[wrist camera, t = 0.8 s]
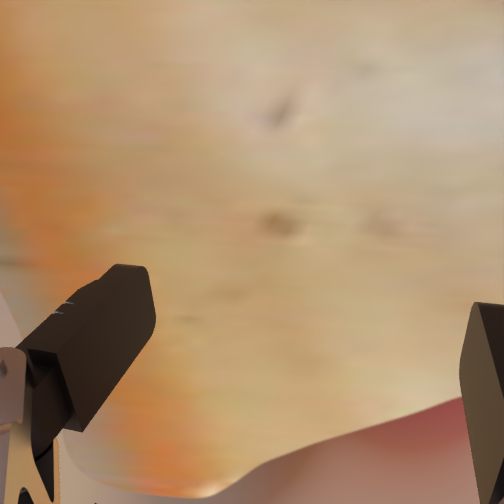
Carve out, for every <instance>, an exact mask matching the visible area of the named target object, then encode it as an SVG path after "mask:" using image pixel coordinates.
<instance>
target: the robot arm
mask: <svg viewBox="0 0 504 504" xmlns="http://www.w3.org/2000/svg"><path fill="white" fill-rule="evenodd" d="M155 323H156V313H155V308H154V302H153V297H152V291H151V286H150V280H149V275H148V272H147V270H146V268H145V267H143V266H135V265H125V264H115V265H113V266H112V267H111V268H110V269H109V270H108V271H107V272H106V273H105V274H104V275H103V276H102V277H101V278H100V279H99V280H95V281H93V282H91V283H89V284H87V285H86V286H84V287H82V288H80V289H78V290H77V291H76V292H75V293H74V294H73V295H72V296H71V297H70V298H68V299H67V300H66V301H65V304H62V305H61V306H60V307H59V308H58V309H57V310H55V313H54V314H51V315H50V316H49V317H48V318H47V319H46V320H45V321H44V322H42V323H41V324H40V325H39V326H38V327H37V328H36V329H35V330H34V331H33V332H32V333H31V334H29V335H28V336H27V337H26V338H25V339H24V340H23V341H22V342H21V343H20V344H19V345H18V346H16V347H15V348H12V347H3V348H0V504H60V478H59V477H60V474H59V445H58V441H57V439H56V436H57V435H58V434H59V432H60V431H61V430H62V428H64V429H69V430H74V431H78V432H83V431H84V429H85V428H86V427H87V425H88V424H89V422H90V421H91V420H92V418H93V417H94V415H95V414H96V413H97V411H98V410H99V409H100V407H101V406H102V404H103V403H104V402H105V400H106V399H107V397H108V396H109V395H110V393H111V392H112V390H113V389H114V388H115V386H116V385H117V383H118V382H119V381H120V379H121V378H122V376H123V375H124V374H125V372H126V371H127V369H128V368H129V367H130V365H131V364H132V363H133V361H134V360H135V358H136V357H137V356H138V354H139V353H140V351H141V350H142V349H143V347H144V346H145V344H146V343H147V342H148V340H149V339H150V337H151V336H152V334H153V331H154V328H155ZM459 379H460V387H461V393H462V399H463V405H464V411H465V416H466V422H467V428H468V434H469V440H470V446H471V452H472V458H473V464H474V470H475V476H476V481H477V487H478V493H479V499H480V504H504V305H501V304H491V303H481V302H474V304H473V306H472V308H471V312H470V317H469V321H468V326H467V330H466V335H465V339H464V344H463V348H462V353H461V358H460V368H459ZM95 504H96V503H95Z"/></svg>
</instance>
